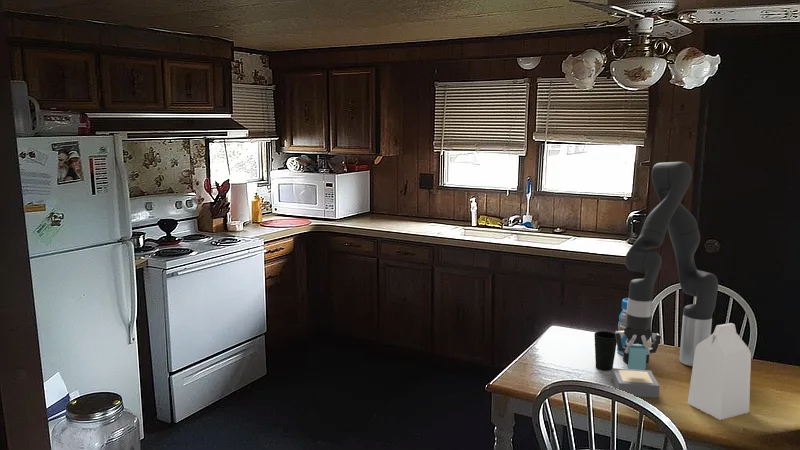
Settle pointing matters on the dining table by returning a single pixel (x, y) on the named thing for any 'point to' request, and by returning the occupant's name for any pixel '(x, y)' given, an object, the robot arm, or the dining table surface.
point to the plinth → (636, 382)
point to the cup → (605, 350)
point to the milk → (721, 374)
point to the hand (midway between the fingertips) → (635, 363)
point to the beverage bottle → (623, 322)
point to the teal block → (637, 357)
